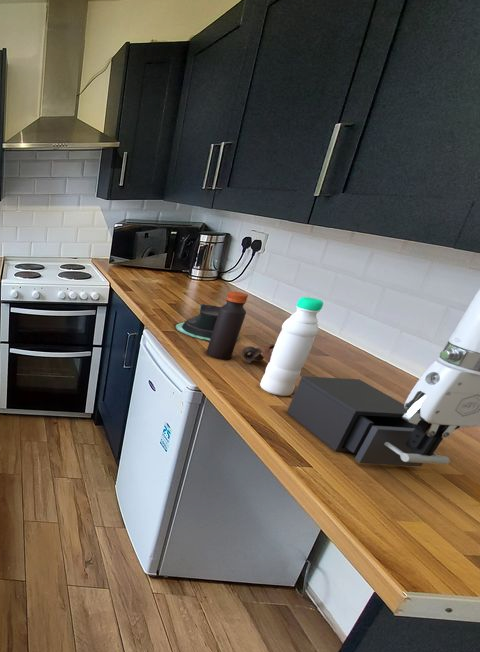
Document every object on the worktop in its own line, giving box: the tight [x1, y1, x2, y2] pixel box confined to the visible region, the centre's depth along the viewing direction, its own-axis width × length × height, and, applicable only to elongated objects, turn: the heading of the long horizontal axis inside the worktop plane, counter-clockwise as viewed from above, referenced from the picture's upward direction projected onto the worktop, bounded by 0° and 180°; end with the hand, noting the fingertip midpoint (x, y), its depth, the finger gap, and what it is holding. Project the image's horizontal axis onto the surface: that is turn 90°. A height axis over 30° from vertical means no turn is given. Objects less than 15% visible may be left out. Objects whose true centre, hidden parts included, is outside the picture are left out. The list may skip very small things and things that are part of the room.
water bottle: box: [259, 296, 324, 397], centre depth 100 cm, size 7×7×25 cm
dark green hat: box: [175, 303, 240, 341], centre depth 143 cm, size 15×19×20 cm
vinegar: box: [206, 291, 249, 361], centre depth 121 cm, size 7×7×20 cm
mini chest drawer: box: [343, 415, 450, 468], centre depth 79 cm, size 19×12×8 cm, turn 177°
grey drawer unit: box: [286, 375, 407, 453], centre depth 87 cm, size 15×13×10 cm
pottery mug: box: [241, 343, 276, 365], centre depth 117 cm, size 12×10×8 cm
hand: (417, 450), depth 72 cm, fingers closed
